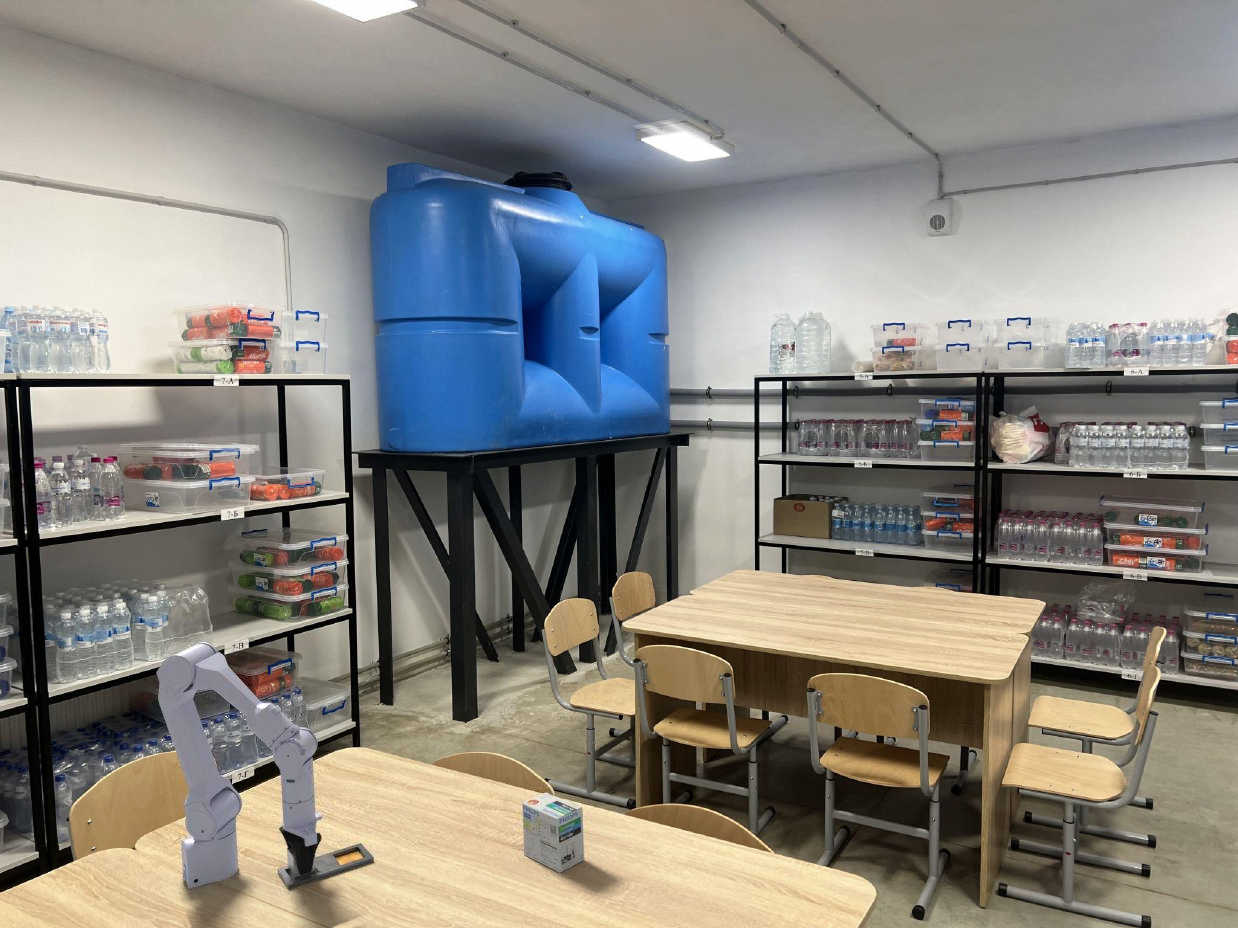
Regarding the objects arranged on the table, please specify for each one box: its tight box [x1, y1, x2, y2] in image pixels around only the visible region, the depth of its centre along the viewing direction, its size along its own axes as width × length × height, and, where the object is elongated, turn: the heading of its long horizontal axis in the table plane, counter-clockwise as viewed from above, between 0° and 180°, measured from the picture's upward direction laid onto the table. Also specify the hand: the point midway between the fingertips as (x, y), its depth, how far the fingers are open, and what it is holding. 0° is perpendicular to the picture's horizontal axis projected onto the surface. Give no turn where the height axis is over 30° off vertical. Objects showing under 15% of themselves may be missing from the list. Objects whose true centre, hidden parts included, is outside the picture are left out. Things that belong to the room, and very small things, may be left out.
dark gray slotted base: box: [277, 842, 375, 890], centre depth 171 cm, size 16×7×2 cm, turn 126°
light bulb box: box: [521, 792, 585, 874], centre depth 174 cm, size 11×7×11 cm, turn 47°
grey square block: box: [286, 847, 316, 880], centre depth 168 cm, size 4×4×5 cm
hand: (301, 867), depth 168 cm, fingers closed on grey square block, 4 cm apart
